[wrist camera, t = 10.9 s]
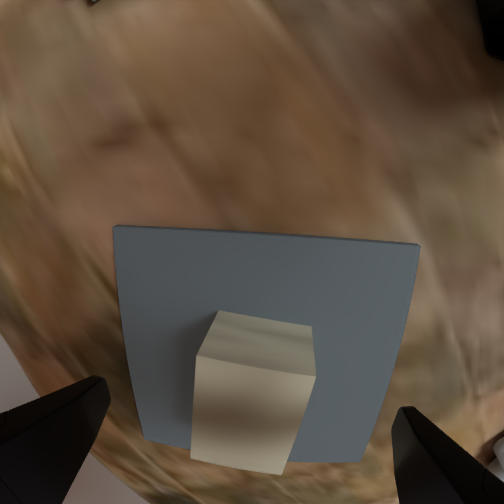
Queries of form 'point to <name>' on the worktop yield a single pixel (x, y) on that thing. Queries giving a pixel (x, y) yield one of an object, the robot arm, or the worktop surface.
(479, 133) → the worktop surface
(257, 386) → the card box
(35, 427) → the robot arm
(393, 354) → the rubber mat
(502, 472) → the bunny figurine
